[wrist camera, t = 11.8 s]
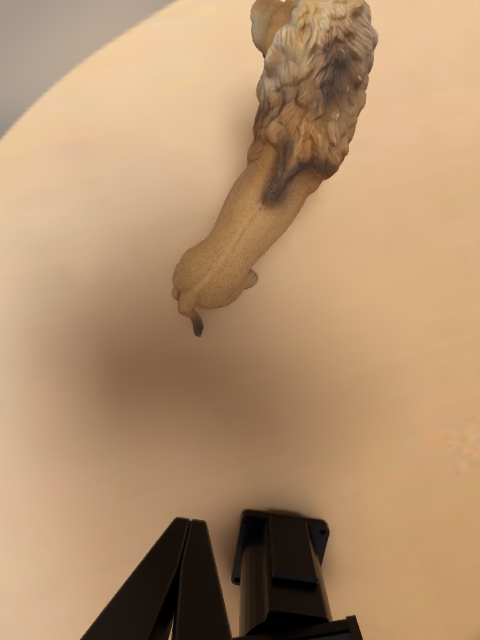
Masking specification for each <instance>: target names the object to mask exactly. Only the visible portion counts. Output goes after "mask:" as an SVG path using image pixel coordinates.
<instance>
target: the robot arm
mask: <svg viewBox="0 0 480 640" xmlns="http://www.w3.org/2000/svg"><path fill="white" fill-rule="evenodd" d="M247 518H249V519H247ZM321 529H323V530H321ZM328 537H329V528H328V525H327V524H326V523H325V522H322V521H315V520H308V519H301V518H294V517H288V516H281V515H274V514H267V513H260V512H253V511H245V512H243V513H242V516H241V522H240V527H239V533H238V539H237V545H236V551H235V556H234V562H233V568H232V574H231V581H232V583H233V584H235V585H239V586H240V616H239V637H234V638H232V634H231V630H230V625H229V621H228V617H227V612H226V608H225V603H224V599H223V594H222V590H221V585H220V581H219V576H218V572H217V567H216V563H215V558H214V554H213V550H212V545H211V541H210V536H209V532H208V527H207V523H206V522H205V521H203V520H196V519H193V520H191V521H190V519H189V518H183V517H176V518H175V519H174V520H173V521H172V522H171V524H170V525H169V526H168V528H167V529H166V530H165V531H164V533H163V534H162V535H161V537H160V538H159V539H158V540H157V542H156V543H155V544H154V546H153V547H152V548H151V549H150V551H149V552H148V553H147V554H146V556H145V557H144V558H143V560H142V561H141V562H140V563H139V565H138V566H137V567H136V569H135V570H134V571H133V572H132V574H131V575H130V576H129V578H128V579H127V580H126V581H125V583H124V584H123V585H122V586H121V588H120V589H119V590H118V592H117V593H116V594H115V595H114V597H113V598H112V599H111V601H110V602H109V603H108V604H107V606H106V607H105V608H104V610H103V611H102V612H101V613H100V615H99V616H98V617H97V618H96V620H95V621H94V622H93V624H92V625H91V626H90V627H89V629H88V630H87V631H86V633H85V634H84V635H83V636H82V638H81V639H80V640H168V639H169V635H170V631H171V627H172V623H173V628H172V636H171V640H363V638H362V635H361V632H360V629H359V626H358V622H357V619H356V616H355V615H353V616H347V617H346V619H343V620H337V621H333V619H332V615H331V610H330V606H329V602H328V597H327V593H326V589H325V584H324V580H323V576H322V571H321V565H322V561H323V557H324V553H325V549H326V545H327V541H328ZM173 618H174V620H173Z"/></svg>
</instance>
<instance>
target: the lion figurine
mask: <svg viewBox="0 0 480 640" xmlns="http://www.w3.org/2000/svg"><path fill="white" fill-rule="evenodd" d="M250 17H251V21H252V29H251V33H252V39H253V42H254V44H255V46H256V48H257V49H258V50H259V51H260V52H262V53H263V57H264V59H265V60H264V70H263V73H262V76H261V78H260V80H259V82H258V85H257V89H256V92H257V98H258V100H259V103H260V105H259V108H258V111H257V114H256V117H255V123H254V127H253V133H254V140H253V143H252V144H251V146H250V148H249V150H248V155H247V158H248V164H247V168H246V169H245V170H244V172H243V173H242V174H241V175H240V177H239V178H238V179H237V181H236V182H235V184H234V185H233V187H232V189H231V190H230V192H229V194H228V196H227V198H226V200H225V202H224V205H223V207H222V209H221V212H220V214H219V216H218V219H217V221H216V224H215V227H214V229H213V231H212V232H211V233H210V235H209V236H208V237H207V238H206V239H205V240H203V241H202V242H200V243H199V244H197V245H196V246H194V247H192V248H190V249H188V250H187V251H186V252H185V253H184V255H183V256H182V258H181V260H180V262H179V263H178V264H177V266H176V268H175V271H174V274H173V284H174V288H173V292H172V294H173V297H174V298H175V299H176V300H178V301H179V302H178V310H179V313H180V314H182V315H184V316H187V317H189V318H190V319H191V320H192V322H193V327H194V333H195V335H196V336H197V337H201V334H202V330H203V323H202V320H201V318H200V316H199V315H198V314H197V313H196V312H195V311H194V309H193V308H195V307H196V306H200V307H202V308H207V309H214V308H219V307H223V306H226V305H228V304H230V303H232V302H233V301H234V300H236V299H237V298H238V297H239V295H240V294H241V293H242V291H243V290H245V289H248V288H250V287H252V286H254V285H255V284H256V283H257V279H258V276H257V274H256V273H255V272H254V271H253V270H251V269H250V268H251V267H252V265H253V264H254V263H255V262H256V261H257V260H258V259H259V258H260V257H261V256H262V255H263V254H264V253H265V252H266V251H267V250H268V249H269V248H270V247H271V246H272V244H273V243H274V242H275V241H276V240H277V239H278V238H279V237H280V236H281V235H282V234H283V233H284V232H285V231H286V229H287V228H288V227H289V226H290V224H291V223H292V222H293V220H294V219H295V217H296V216H297V214H298V212H299V211H300V209H301V207H302V205H303V203H304V201H305V199H306V197H307V196H308V195H309V194H311V193H313V192H314V191H315V190H316V189H317V188H318V187H319V185H320V184H321V182H322V181H323V180H326V179H328V178H330V177H331V176H332V175H333V174H335V173H336V172H337V171H338V169H339V166H340V165H341V163H342V162H343V160H344V158H345V156H346V155H347V154H348V152H349V147H348V145H349V143H350V142H351V140H352V138H353V135H354V132H355V127H356V123H357V117H358V116H359V114H360V111H361V110H362V109H363V108H364V106H365V103H366V93H365V91H366V89H367V86H368V80H369V76H368V74H369V73H370V71H371V69H372V66H373V60H374V49H375V47H376V45H377V42H378V33H377V31H376V30H375V29H374V28H373V27H372V25H371V11H370V8H369V5H368V4H367V3H366V2H365V0H286V1H285V2H282V1H280V0H257V1H255V2H254V4H253V5H252V8H251V16H250Z"/></svg>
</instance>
